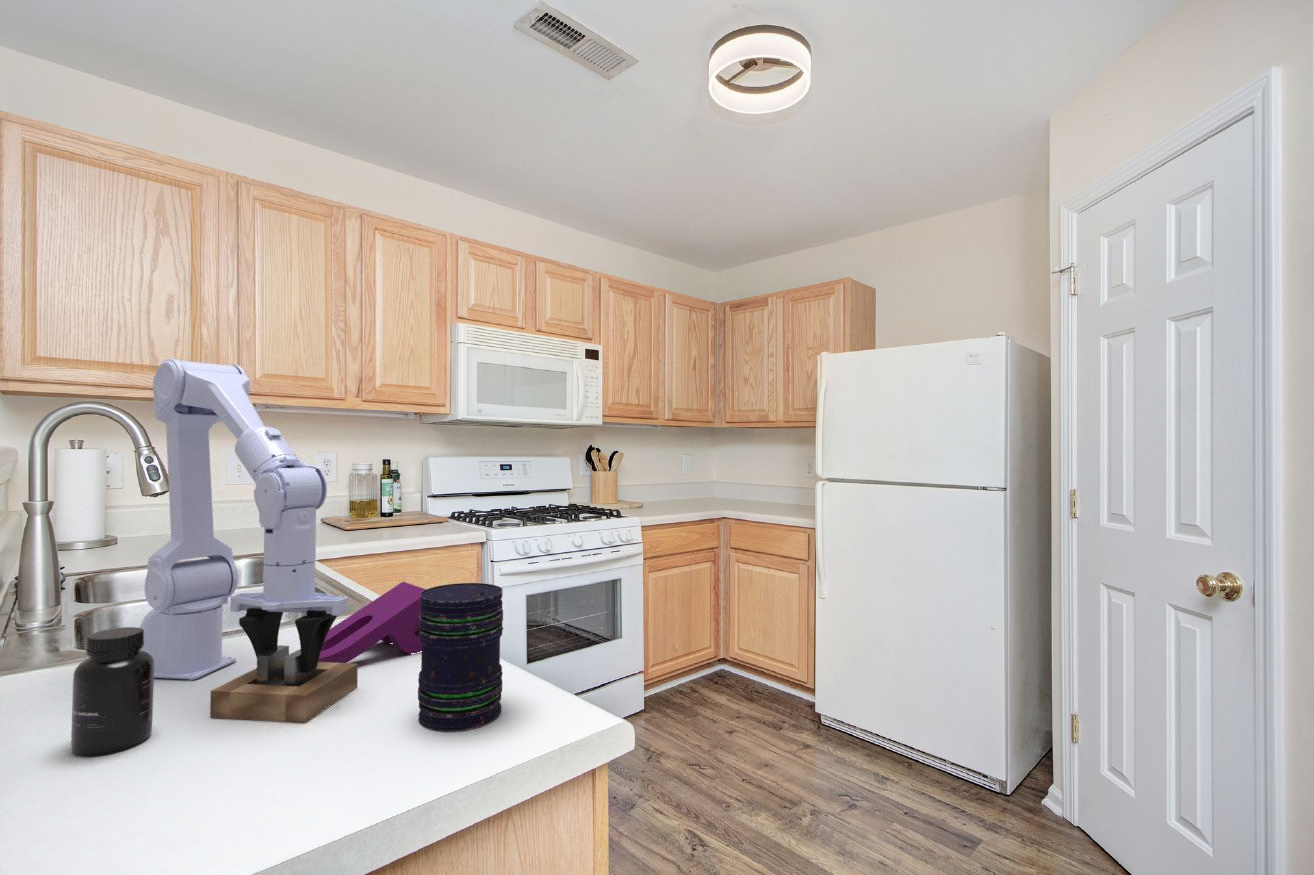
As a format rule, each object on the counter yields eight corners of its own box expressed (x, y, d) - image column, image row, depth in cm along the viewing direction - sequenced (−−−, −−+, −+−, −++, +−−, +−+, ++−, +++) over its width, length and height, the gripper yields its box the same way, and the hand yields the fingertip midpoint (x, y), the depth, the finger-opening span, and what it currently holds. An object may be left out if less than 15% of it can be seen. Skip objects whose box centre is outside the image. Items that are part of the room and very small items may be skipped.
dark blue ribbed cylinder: (398, 724, 76) (400, 596, 76) (452, 693, 85) (453, 580, 85) (470, 738, 73) (471, 605, 73) (517, 705, 82) (519, 586, 82)
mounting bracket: (347, 711, 94) (451, 634, 105) (321, 665, 91) (430, 590, 103) (322, 693, 100) (423, 622, 112) (297, 649, 97) (403, 581, 109)
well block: (210, 717, 77) (210, 690, 77) (273, 683, 88) (273, 659, 88) (305, 722, 76) (305, 695, 76) (357, 687, 87) (357, 663, 87)
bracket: (256, 700, 80) (256, 655, 80) (278, 687, 84) (278, 645, 84) (294, 702, 80) (295, 657, 80) (315, 689, 84) (315, 646, 84)
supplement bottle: (61, 763, 66) (62, 645, 66) (82, 736, 72) (84, 628, 72) (145, 749, 69) (146, 637, 69) (159, 724, 75) (160, 621, 75)
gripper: (212, 566, 79) (210, 678, 79) (325, 569, 78) (323, 683, 78) (253, 556, 86) (252, 658, 86) (357, 559, 85) (356, 663, 85)
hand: (288, 669), depth 82 cm, fingers closed on bracket, 5 cm apart
